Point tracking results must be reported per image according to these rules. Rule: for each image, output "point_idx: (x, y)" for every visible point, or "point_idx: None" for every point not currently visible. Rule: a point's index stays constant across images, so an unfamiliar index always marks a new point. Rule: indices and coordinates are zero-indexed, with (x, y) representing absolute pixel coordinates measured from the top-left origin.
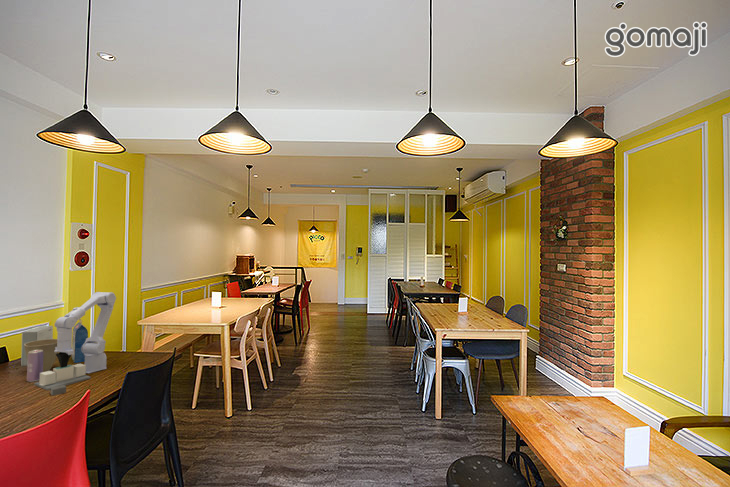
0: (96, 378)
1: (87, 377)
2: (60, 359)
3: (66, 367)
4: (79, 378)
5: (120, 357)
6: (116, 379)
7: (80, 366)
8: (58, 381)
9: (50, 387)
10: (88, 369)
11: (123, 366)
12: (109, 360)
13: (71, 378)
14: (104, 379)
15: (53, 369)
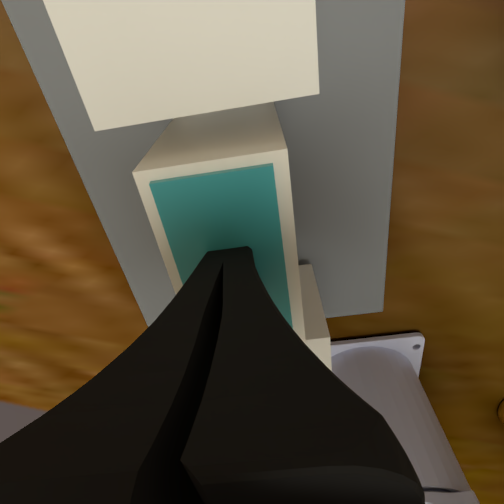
0: None
1: (148, 322)
2: (146, 353)
3: (176, 290)
4: (165, 283)
5: (473, 489)
6: (21, 400)
7: None
8: None
9: (11, 12)
10: (334, 371)
11: None
12: (480, 458)
13: None
14: (69, 367)
15: (272, 145)
